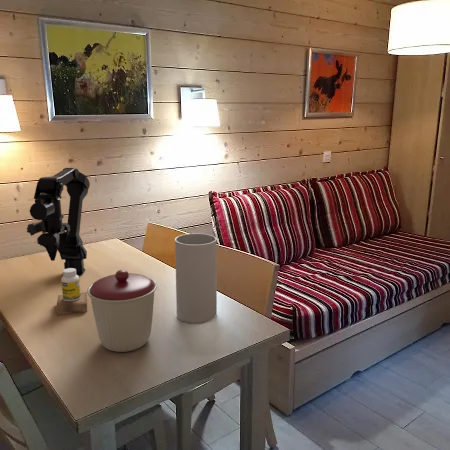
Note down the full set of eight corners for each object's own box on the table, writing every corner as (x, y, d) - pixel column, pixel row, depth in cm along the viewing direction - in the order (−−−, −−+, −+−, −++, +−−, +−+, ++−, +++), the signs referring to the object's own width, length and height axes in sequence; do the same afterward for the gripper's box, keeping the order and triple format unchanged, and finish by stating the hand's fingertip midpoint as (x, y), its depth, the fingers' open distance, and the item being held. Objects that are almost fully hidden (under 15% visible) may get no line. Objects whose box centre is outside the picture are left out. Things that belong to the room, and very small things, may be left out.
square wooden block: (87, 300, 144) (86, 291, 144) (87, 311, 136) (86, 302, 135) (58, 303, 142) (58, 294, 141) (57, 315, 133) (56, 306, 133)
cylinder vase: (209, 304, 142) (208, 231, 136) (222, 320, 131) (222, 242, 124) (172, 310, 138) (170, 235, 131) (182, 327, 126) (181, 246, 120)
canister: (79, 341, 118) (73, 270, 113) (135, 320, 130) (132, 255, 125) (113, 368, 105) (108, 289, 100) (172, 342, 118) (170, 270, 113)
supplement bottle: (60, 301, 136) (57, 272, 133) (67, 294, 141) (64, 266, 139) (76, 302, 135) (74, 273, 133) (83, 295, 141) (80, 267, 138)
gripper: (37, 208, 156) (41, 249, 160) (18, 220, 138) (23, 265, 142) (68, 208, 157) (72, 248, 161) (54, 219, 139) (58, 264, 143)
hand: (56, 256), depth 152 cm, fingers open, 9 cm apart
